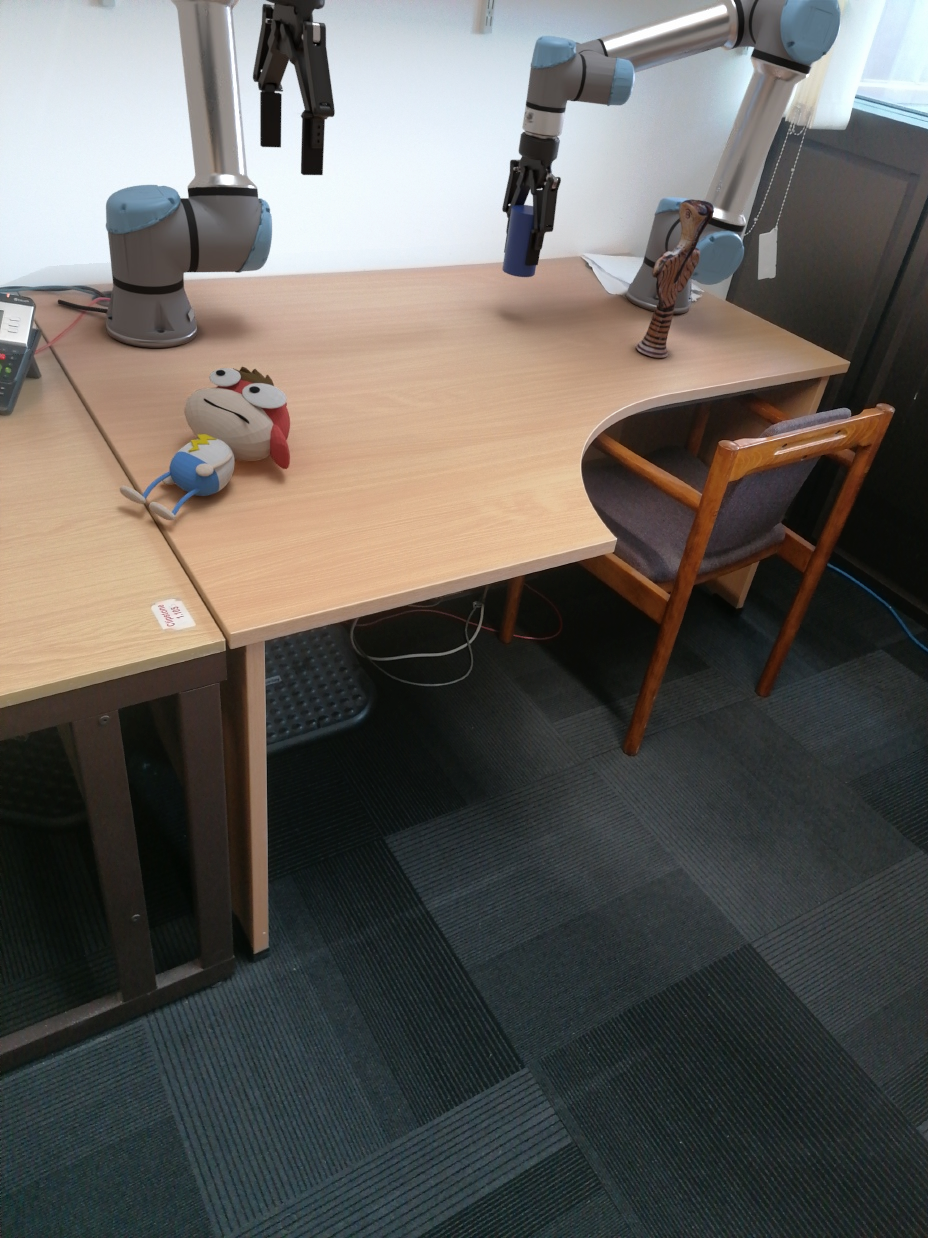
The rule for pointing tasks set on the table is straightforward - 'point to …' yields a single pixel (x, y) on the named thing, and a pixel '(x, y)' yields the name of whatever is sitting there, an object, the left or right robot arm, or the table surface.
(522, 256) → the canister
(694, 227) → the figurine
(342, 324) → the table surface
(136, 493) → the toy
